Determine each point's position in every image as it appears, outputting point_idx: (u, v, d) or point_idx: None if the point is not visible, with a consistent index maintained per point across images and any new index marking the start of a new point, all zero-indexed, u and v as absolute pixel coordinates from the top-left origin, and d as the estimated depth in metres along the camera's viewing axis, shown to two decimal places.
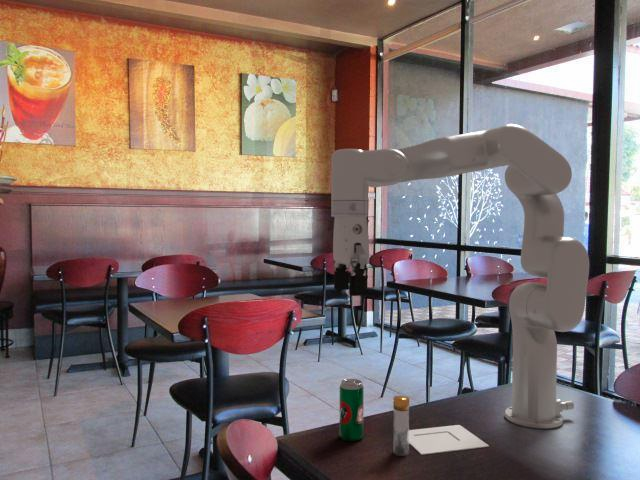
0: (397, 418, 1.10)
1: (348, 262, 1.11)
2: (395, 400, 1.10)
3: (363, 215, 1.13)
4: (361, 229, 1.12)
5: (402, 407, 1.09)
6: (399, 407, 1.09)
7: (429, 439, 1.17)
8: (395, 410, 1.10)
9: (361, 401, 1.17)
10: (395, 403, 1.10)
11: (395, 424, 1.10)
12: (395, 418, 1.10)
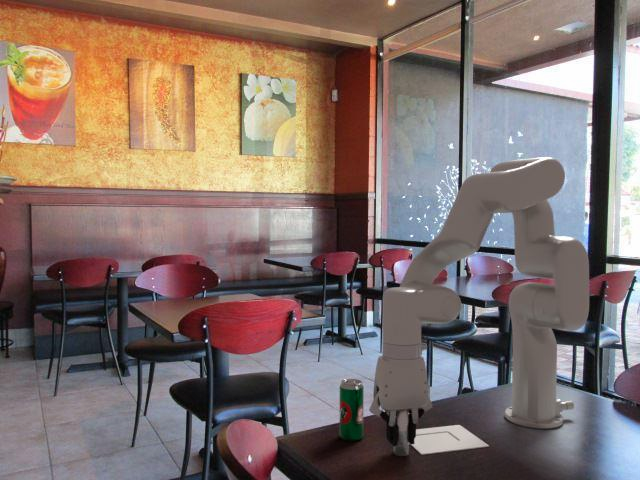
0: (397, 418, 1.10)
1: (426, 404, 1.10)
2: None
3: None
4: None
5: None
6: None
7: (429, 439, 1.17)
8: None
9: (361, 401, 1.17)
10: None
11: (395, 424, 1.10)
12: (395, 418, 1.10)
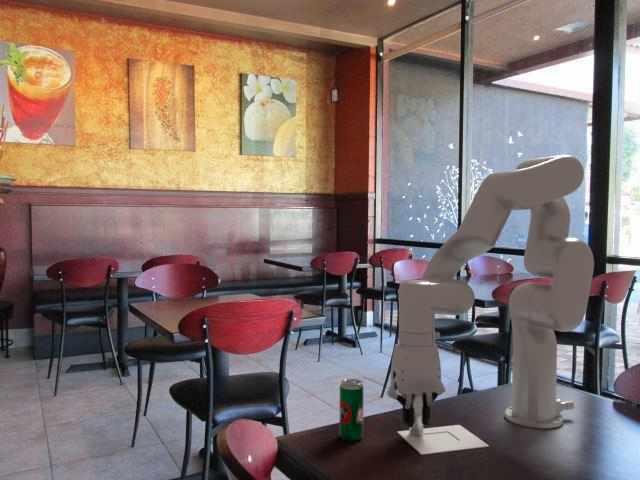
0: (412, 401, 1.18)
1: (439, 388, 1.19)
2: None
3: None
4: None
5: None
6: None
7: (429, 439, 1.17)
8: None
9: (361, 401, 1.17)
10: None
11: (411, 407, 1.18)
12: (411, 401, 1.18)
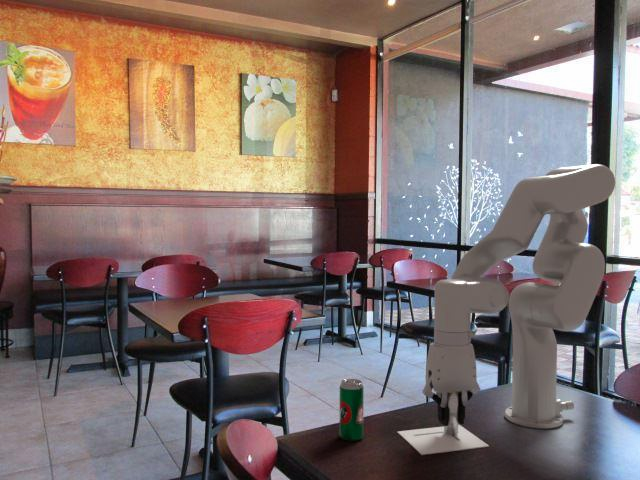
0: (447, 400, 1.19)
1: (474, 387, 1.19)
2: None
3: None
4: None
5: None
6: None
7: (429, 439, 1.17)
8: None
9: (361, 401, 1.17)
10: None
11: (446, 406, 1.19)
12: None
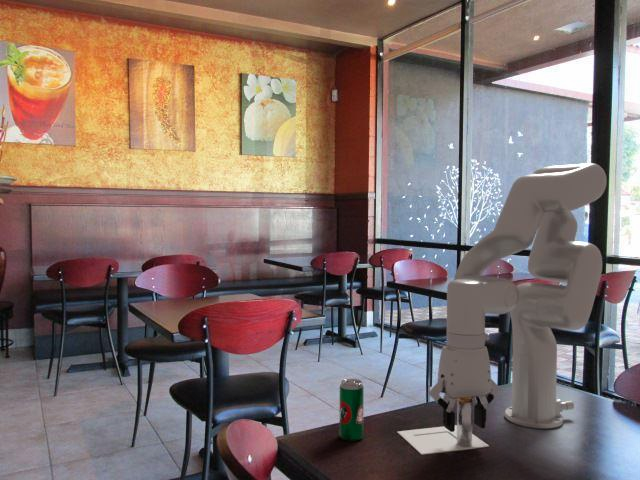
0: (461, 409, 1.13)
1: (489, 392, 1.14)
2: None
3: None
4: None
5: (466, 399, 1.13)
6: (463, 399, 1.13)
7: (429, 439, 1.17)
8: (459, 402, 1.14)
9: (361, 401, 1.17)
10: None
11: (459, 416, 1.14)
12: (459, 410, 1.14)
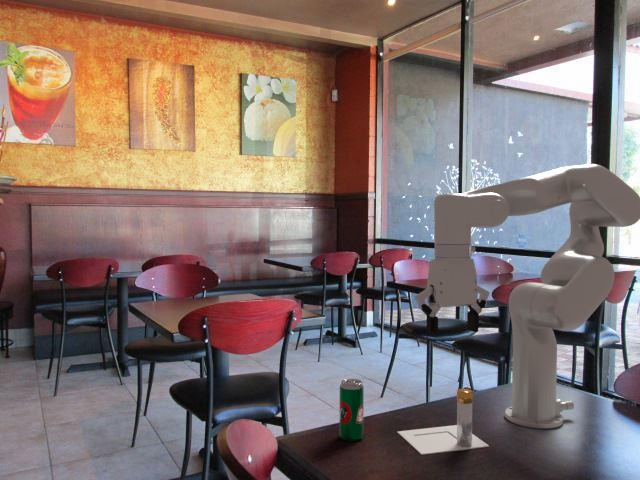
0: (461, 410, 1.13)
1: (476, 301, 1.18)
2: (459, 393, 1.13)
3: None
4: None
5: (466, 400, 1.13)
6: (463, 400, 1.13)
7: (429, 439, 1.17)
8: (459, 403, 1.14)
9: (361, 401, 1.17)
10: (459, 396, 1.13)
11: (459, 416, 1.14)
12: (459, 410, 1.14)
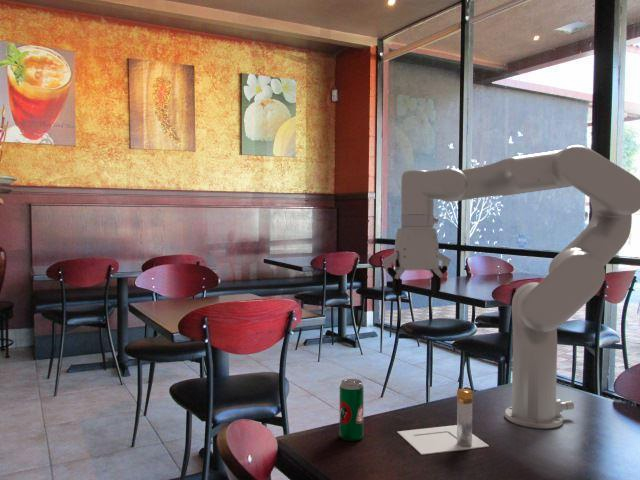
0: (461, 410, 1.13)
1: (437, 267, 1.33)
2: (459, 393, 1.13)
3: None
4: None
5: (466, 400, 1.13)
6: (463, 400, 1.13)
7: (429, 439, 1.17)
8: (459, 403, 1.14)
9: (361, 401, 1.17)
10: (459, 396, 1.13)
11: (459, 416, 1.14)
12: (459, 410, 1.14)
